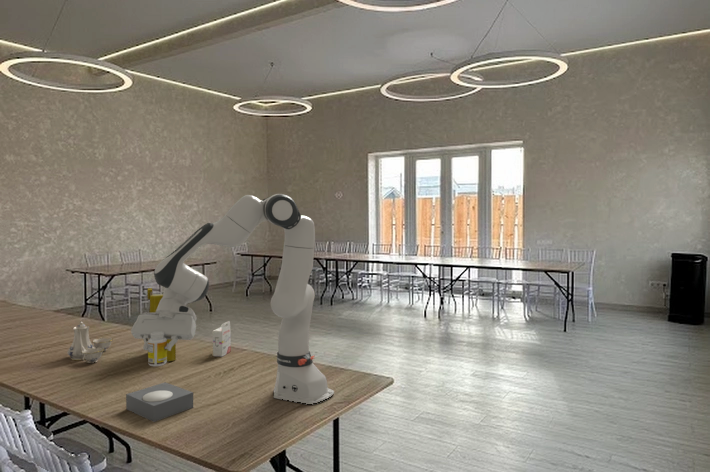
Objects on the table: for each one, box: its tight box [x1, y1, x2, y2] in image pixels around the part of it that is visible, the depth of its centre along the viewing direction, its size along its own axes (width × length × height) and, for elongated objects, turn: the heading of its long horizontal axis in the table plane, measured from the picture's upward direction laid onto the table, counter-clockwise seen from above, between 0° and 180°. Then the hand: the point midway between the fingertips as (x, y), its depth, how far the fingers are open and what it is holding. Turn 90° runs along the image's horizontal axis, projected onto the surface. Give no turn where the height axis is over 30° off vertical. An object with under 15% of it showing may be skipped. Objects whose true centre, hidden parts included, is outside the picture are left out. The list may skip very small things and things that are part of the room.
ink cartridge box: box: [212, 320, 232, 358], centre depth 217 cm, size 9×5×15 cm, turn 168°
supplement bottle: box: [147, 331, 168, 367], centre depth 151 cm, size 6×6×10 cm
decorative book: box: [146, 287, 177, 363], centre depth 211 cm, size 20×11×30 cm, turn 26°
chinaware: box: [66, 321, 113, 364], centre depth 210 cm, size 28×17×17 cm, turn 21°
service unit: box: [125, 382, 194, 423], centre depth 155 cm, size 17×14×5 cm
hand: (156, 349), depth 151 cm, fingers closed on supplement bottle, 6 cm apart
